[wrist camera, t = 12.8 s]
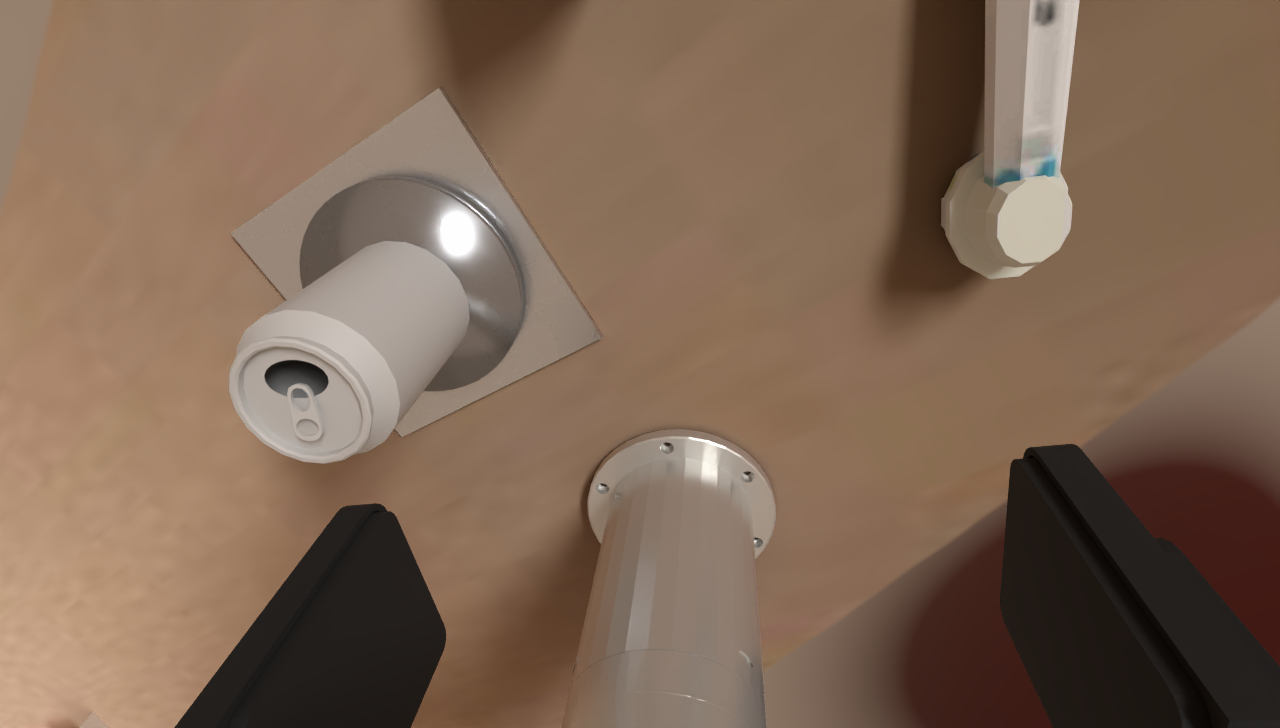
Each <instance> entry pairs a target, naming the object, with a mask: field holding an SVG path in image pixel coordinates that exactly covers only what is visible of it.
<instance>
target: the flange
mask: <svg viewBox="0 0 1280 728" xmlns="http://www.w3.org/2000/svg"><path fill="white" fill-rule="evenodd" d="M230 234H231V235H232V236H233V237H234V238H235V240H236V241H237V242H238V243H239V244H240V245H241V247H242V248H243V249H244V250H245V251H246V253H247V254H248V255H249V256H250V257H251V259H252V260H253V261H254V262H255V263H256V265H257V266H258V267H259V268H260V269H261V270H262V272H263V273H264V274H265V275H266V276H267V278H268V279H269V280H270V281H271V282H272V284H273V285H274V286H275V287H276V288H277V290H278V291H279V292H280V293H281V294H282V295H283V297H284V298H285V299H286V300H288V299H289V298H290V297H292V296H293V295H295V294H296V293H298V292H299V291H301V290H302V289H304V288H305V287H307V286H308V285H310V284H311V283H313V282H314V281H316V280H317V279H319V278H320V277H322V276H323V275H324V274H326V273H327V272H329V271H330V270H332V269H333V268H335V267H336V266H338V265H339V264H341V263H342V262H344V261H345V260H347V259H348V258H350V257H351V256H353V255H354V254H356V253H357V252H358V251H360V250H361V249H363V248H364V247H366V246H369V245H372V244H376V243H379V242H383V241H395V242H407V243H410V244H412V245H415V246H418V247H421V248H424V249H426V250H428V251H429V252H431V253H432V254H433V255H435V256H436V257H438V258H439V259H441V260H442V261H443V262H445V263H446V264H447V266H448V267H449V268H450V269H451V270H452V272H453V273H454V274H455V275H456V277H457V278H458V279H459V280H460V283H461V285H462V287H463V290H464V292H465V294H466V296H467V299H468V307H469V316H470V319H469V323H468V328H467V332H466V336H465V337H464V338H463V340H462V341H461V343H460V344H459V346H458V347H457V348H456V350H455V351H454V352H453V354H452V355H451V356H450V358H449V359H448V360H447V361H446V363H445V364H444V365H443V367H442V368H441V369H440V371H439V372H438V373H437V374H436V376H435V377H434V378H433V380H432V381H431V382H430V383H429V385H428V386H427V387H426V389H425V390H424V391H423V393H422V394H421V395H420V396H419V398H418V399H417V400H416V402H415V403H414V404H413V405H412V407H411V408H410V409H409V411H408V412H407V413H406V415H405V416H404V417H403V418H402V420H401V421H400V422H399V424H398V425H397V426H396V428H395V430H396V431H397V432H398V433H399V435H400V436H401V437H404V436H406V435H408V434H410V433H412V432H414V431H416V430H418V429H420V428H422V427H424V426H426V425H428V424H430V423H432V422H434V421H436V420H438V419H440V418H442V417H444V416H446V415H448V414H450V413H452V412H454V411H456V410H458V409H460V408H462V407H464V406H466V405H468V404H470V403H472V402H474V401H476V400H478V399H480V398H482V397H484V396H486V395H488V394H490V393H492V392H494V391H496V390H498V389H500V388H502V387H504V386H506V385H509V384H511V383H513V382H515V381H517V380H519V379H521V378H523V377H525V376H527V375H529V374H531V373H533V372H535V371H537V370H539V369H541V368H543V367H545V366H547V365H549V364H551V363H553V362H555V361H557V360H559V359H561V358H563V357H565V356H567V355H569V354H571V353H573V352H575V351H577V350H579V349H581V348H583V347H585V346H587V345H589V344H591V343H593V342H595V341H597V340H599V339H601V338H602V337H603V335H602V333H601V332H600V330H599V329H598V327H597V325H596V324H595V322H594V321H593V319H592V318H591V316H590V315H589V313H588V312H587V310H586V309H585V307H584V305H583V304H582V302H581V301H580V299H579V298H578V296H577V295H576V293H575V292H574V290H573V289H572V287H571V285H570V284H569V282H568V281H567V279H566V278H565V276H564V275H563V273H562V272H561V270H560V269H559V267H558V265H557V264H556V262H555V261H554V259H553V258H552V256H551V255H550V253H549V252H548V250H547V249H546V247H545V245H544V244H543V242H542V241H541V239H540V238H539V236H538V235H537V233H536V232H535V230H534V229H533V227H532V225H531V224H530V222H529V221H528V219H527V218H526V216H525V215H524V213H523V212H522V210H521V209H520V207H519V205H518V204H517V202H516V201H515V199H514V198H513V196H512V195H511V193H510V192H509V190H508V189H507V187H506V185H505V184H504V182H503V181H502V179H501V178H500V176H499V175H498V173H497V172H496V170H495V169H494V167H493V165H492V164H491V162H490V161H489V159H488V158H487V156H486V155H485V153H484V152H483V150H482V149H481V147H480V145H479V144H478V142H477V141H476V139H475V138H474V136H473V135H472V133H471V132H470V130H469V129H468V127H467V125H466V124H465V122H464V121H463V119H462V118H461V116H460V115H459V113H458V112H457V110H456V109H455V107H454V105H453V104H452V102H451V101H450V99H449V98H448V96H447V95H446V93H445V92H444V90H443V89H442V87H440V88H438V89H436V90H435V91H434V92H432V93H431V94H429V95H428V96H426V97H425V98H424V99H422V100H421V101H419V102H418V103H416V104H415V105H414V106H412V107H411V108H409V109H408V110H406V111H405V112H404V113H402V114H401V115H399V116H398V117H396V118H395V119H394V120H392V121H391V122H389V123H388V124H386V125H385V126H383V127H382V128H381V129H379V130H378V131H376V132H375V133H373V134H372V135H371V136H369V137H368V138H366V139H365V140H363V141H362V142H361V143H359V144H358V145H356V146H355V147H353V148H352V149H351V150H349V151H348V152H346V153H345V154H343V155H342V156H341V157H339V158H338V159H336V160H335V161H333V162H332V163H331V164H329V165H328V166H326V167H325V168H323V169H322V170H321V171H319V172H318V173H316V174H315V175H313V176H312V177H310V178H309V179H308V180H306V181H305V182H303V183H302V184H300V185H299V186H298V187H296V188H295V189H293V190H292V191H290V192H289V193H288V194H286V195H285V196H283V197H282V198H280V199H279V200H278V201H276V202H275V203H273V204H272V205H270V206H269V207H268V208H266V209H265V210H263V211H262V212H260V213H259V214H258V215H256V216H255V217H253V218H252V219H250V220H249V221H247V222H246V223H245V224H243V225H242V226H240V227H239V228H237V229H236V230H235V231H233V232H232V233H230Z"/></svg>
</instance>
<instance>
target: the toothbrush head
mask: <svg viewBox="0 0 1280 728" xmlns="http://www.w3.org/2000/svg"><path fill="white" fill-rule="evenodd" d="M1078 9H1079V0H985V138H984V151H983V152H982V153H980V154H977V155H976V156H975V157H973V158H972V159H971V160H970V161H968V162H967V163H966V164H964V165H963V166H962V167H960V168H959V169H958V170H956V171H955V172H956V173H955V175H954V177H953V179H952V182H951V184H950V186H949V188H948V190H947V192H946V194H945V196H944V198H941V226H942V227H943V228H944V230H945V235H946V237H947V239H948V241H949V243H950V245H951V247H952V249H953V251H954V252H955V254H956V256H957V258H958V260H959V262H960V263H962V264H963V265H965V266H967V267H969V268H970V269H972V270H974V271H976V272H978V273H979V274H981V275H983V276H985V277H987V278H989V279H996V278H1006V277H1016V276H1021V275H1022V274H1024V273H1025V272H1027V271H1028V270H1029V269H1031V268H1032V267H1034V266H1037V265H1038V264H1039V263H1041V262H1042V261H1044V260H1045V259H1046V258H1048V257H1049V256H1051V255H1052V254H1054V253H1055V252H1056V251H1058V250H1059V249H1060V247H1061V245H1062V244H1063V242H1064V240H1065V238H1066V236H1067V235H1068V233H1069V231H1070V229H1071V217H1072V202H1071V200H1070V197H1069V195H1068V187H1067V185H1066V183H1065V180H1064V178H1063V176H1062V174H1061V172H1060V166H1061V158H1062V149H1063V140H1064V131H1065V123H1066V114H1067V105H1068V96H1069V88H1070V79H1071V70H1072V61H1073V53H1074V44H1075V35H1076V26H1077V17H1078Z"/></svg>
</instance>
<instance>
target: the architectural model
mask: <svg viewBox="0 0 1280 728" xmlns="http://www.w3.org/2000/svg"><path fill="white" fill-rule="evenodd" d="M78 728H109V727H108V726H107V725H106V724H105V723H104V722H103V721H102V720H101V719H100V718H99V717H98V716H97V715H96V713H95V712H92V713H91V714H90V715H89V716H88V717H87V718H86V719H85V720H84V721H83V723H82V724H81V725H80V726H79V727H78Z"/></svg>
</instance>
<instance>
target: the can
mask: <svg viewBox="0 0 1280 728" xmlns="http://www.w3.org/2000/svg"><path fill="white" fill-rule="evenodd" d="M469 319H470V316H469V307H468V299H467V296H466V294H465V292H464V290H463V287H462V285H461V283H460V280H459V279H458V278H457V277H456V275H455V274H454V273H453V272H452V270H451V269H450V268H449V267H448V266H447V264H446V263H445V262H443V261H442V260H441V259H439V258H438V257H436V256H435V255H433V254H432V253H431V252H429V251H428V250H426V249H424V248H421V247H418V246H415V245H412V244H410V243H407V242H395V241H383V242H379V243H376V244H372V245H369V246H366V247H364V248H363V249H361V250H360V251H358V252H357V253H356V254H354V255H353V256H351V257H350V258H348V259H347V260H345V261H344V262H342V263H341V264H339V265H338V266H336V267H335V268H333V269H332V270H330V271H329V272H327V273H326V274H324V275H323V276H322V277H320V278H319V279H317V280H316V281H314V282H313V283H311V284H310V285H308V286H307V287H305V288H304V289H302V290H301V291H299V292H298V293H296V294H295V295H293V296H292V297H290V298H289V299H288V300H286V301H285V302H283V303H282V304H280V305H279V306H277V307H276V308H274V309H273V310H271V311H270V312H268V313H267V314H265V315H264V316H262V317H261V318H260V319H259V320H257V321H256V322H255V323H254V324H252V325H251V326H250V327H249V328H247V329H246V330H245V332H244V334H243V336H242V338H241V340H240V342H239V344H238V346H237V350H236V358H235V360H234V362H233V364H232V366H231V368H230V370H229V392H230V396H231V399H232V402H233V405H234V408H235V410H236V412H237V413H238V415H239V416H240V418H241V419H242V421H243V422H244V424H245V425H246V427H247V428H248V429H249V430H250V431H251V432H252V433H253V434H254V435H255V436H256V437H258V438H259V439H260V440H261V441H262V442H263V443H264V444H266V445H267V446H269V447H271V448H272V449H274V450H276V451H277V452H279V453H281V454H282V455H285V456H288V457H291V458H294V459H297V460H300V461H303V462H308V463H321V464H328V463H333V462H337V461H342V460H345V459H347V458H348V457H350V456H352V455H356V454H360V453H365V452H368V451H370V450H372V449H373V448H375V447H376V446H378V445H380V444H381V443H383V442H384V441H385V440H386V439H387V438H388V437H389V435H390V434H391V433H392V431H393V430H394V429H395V428H396V426H397V425H398V424H399V422H400V421H401V420H402V418H403V417H404V416H405V415H406V413H407V412H408V411H409V409H410V408H411V407H412V405H413V404H414V403H415V402H416V400H417V399H418V398H419V396H420V395H421V394H422V393H423V391H424V390H425V389H426V387H427V386H428V385H429V383H430V382H431V381H432V380H433V378H434V377H435V376H436V374H437V373H438V372H439V371H440V369H441V368H442V367H443V365H444V364H445V363H446V361H447V360H448V359H449V358H450V356H451V355H452V354H453V352H454V351H455V350H456V348H457V347H458V346H459V344H460V343H461V341H462V340H463V338H464V337H465V336H466V332H467V328H468V323H469Z"/></svg>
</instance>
